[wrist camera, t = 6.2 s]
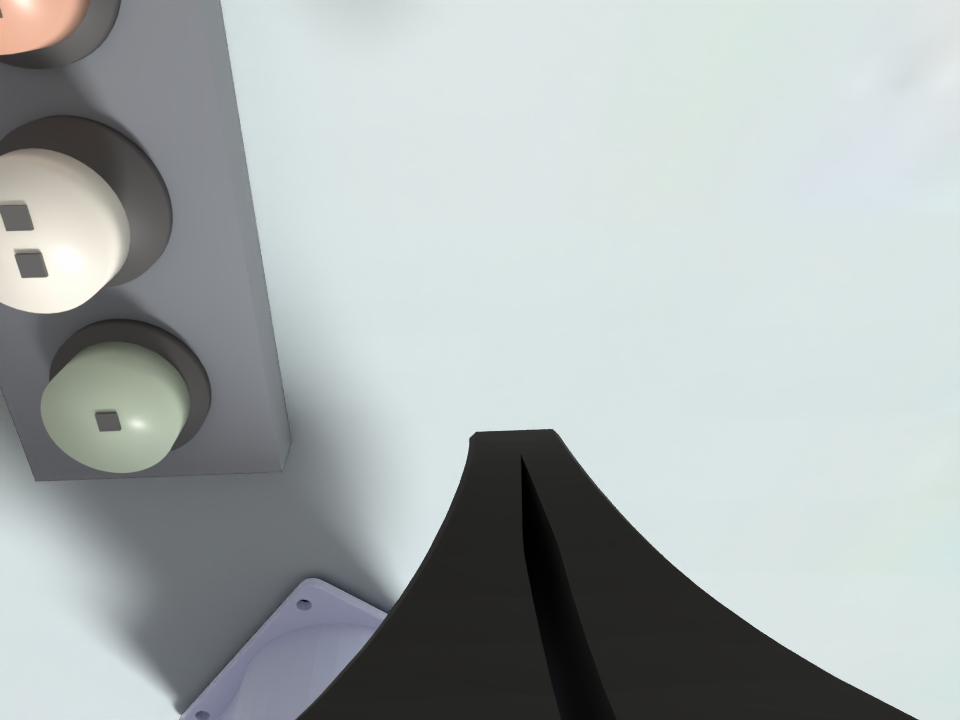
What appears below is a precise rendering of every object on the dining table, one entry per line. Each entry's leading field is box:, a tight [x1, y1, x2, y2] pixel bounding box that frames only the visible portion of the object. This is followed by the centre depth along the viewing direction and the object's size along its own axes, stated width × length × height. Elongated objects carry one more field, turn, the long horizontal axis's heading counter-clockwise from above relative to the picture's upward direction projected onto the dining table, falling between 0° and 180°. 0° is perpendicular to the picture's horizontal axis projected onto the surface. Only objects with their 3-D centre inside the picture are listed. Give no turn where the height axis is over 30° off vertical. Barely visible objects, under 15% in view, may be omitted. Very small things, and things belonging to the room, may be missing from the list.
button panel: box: [0, 0, 291, 481], centre depth 18 cm, size 16×7×2 cm, turn 1°
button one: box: [41, 341, 190, 473], centre depth 18 cm, size 3×3×1 cm
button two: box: [0, 148, 130, 314], centre depth 15 cm, size 3×3×1 cm
